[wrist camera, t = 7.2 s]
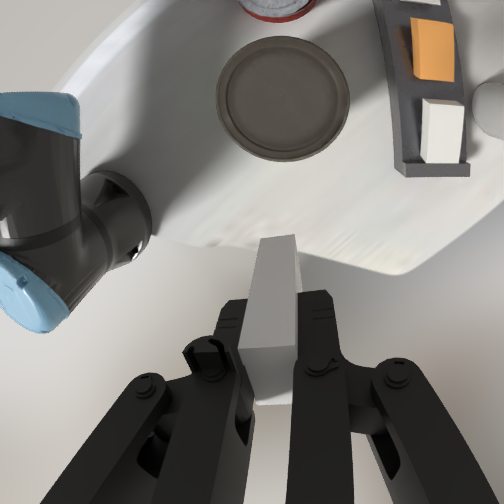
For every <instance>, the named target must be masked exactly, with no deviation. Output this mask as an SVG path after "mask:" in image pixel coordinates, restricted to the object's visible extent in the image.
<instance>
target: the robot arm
mask: <svg viewBox="0 0 504 504" xmlns="http://www.w3.org/2000/svg"><path fill="white" fill-rule="evenodd" d="M80 139H82V134H81V133H80V106H79V102H78V100H77V99H76V98H75V97H74V96H73V95H71V94H68V93H59V92H9V93H8V92H7V93H0V307H1V309H2V310H3V311H4V312H5V313H6V314H7V315H8V316H9V317H10V318H11V319H13V320H14V321H15V322H16V323H18V324H19V325H21V326H22V327H24V328H26V329H28V330H29V331H32V332H35V333H39V334H44V333H49V332H51V331H52V330H54V329H55V328H56V327H57V326H58V325H59V324H60V323H61V322H62V321H63V320H64V319H66V318H68V316H69V315H70V313H71V312H72V311H73V310H74V308H75V307H76V306H77V305H78V304H79V302H80V301H81V300H82V299H83V298H84V297H85V296H86V294H87V293H88V292H89V291H90V290H91V289H92V288H93V286H94V285H95V284H96V283H97V282H98V281H99V280H100V279H101V277H102V276H103V275H104V274H105V273H106V272H108V271H110V270H113V269H115V268H118V267H121V266H123V265H126V264H128V263H130V262H131V261H133V260H134V259H135V258H137V257H138V255H139V254H140V253H141V252H142V251H143V250H144V249H145V247H146V246H147V244H148V242H149V239H150V236H151V229H152V222H151V215H150V211H149V208H148V205H147V203H146V200H145V199H144V197H143V195H142V194H141V192H140V191H139V189H138V188H137V187H136V186H135V185H134V184H133V183H132V182H131V181H130V180H128V179H127V178H125V177H124V176H122V175H120V174H118V173H115V172H111V171H99V172H95V173H92V174H90V175H88V176H86V177H84V178H83V179H81V180H80ZM182 353H183V355H184V357H185V359H186V361H187V363H188V365H189V367H190V369H191V371H192V374H191V375H188V376H185V377H182V378H178V379H174V380H170V381H165V380H164V378H163V377H162V376H161V375H159V374H157V373H145V374H141V375H139V376H138V377H136V378H134V379H133V380H132V381H131V382H130V383H129V384H128V386H127V387H126V388H125V390H124V391H123V392H122V394H121V395H120V396H119V397H118V399H117V400H116V402H115V403H114V404H113V405H112V407H111V408H110V409H109V411H108V412H107V413H106V415H105V416H104V417H103V419H102V420H101V421H100V423H99V424H98V425H97V427H96V428H95V429H94V431H93V432H92V433H91V435H90V436H89V437H88V439H87V440H86V441H85V443H84V444H83V445H82V447H81V448H80V449H79V451H78V452H77V453H76V455H75V456H74V457H73V459H72V460H71V462H70V463H69V464H68V466H67V467H66V468H65V470H64V471H63V472H62V474H61V475H60V477H59V478H58V479H57V481H56V482H55V484H54V485H53V486H52V488H51V489H50V490H49V492H48V493H47V494H46V496H45V497H44V499H43V500H42V501H41V503H40V504H243V502H244V495H245V488H246V482H247V475H248V468H249V461H250V454H251V447H252V440H253V432H254V425H255V414H254V411H253V409H252V408H253V402H254V398H255V401H256V403H257V405H274V404H292V415H291V434H290V450H289V465H288V479H287V493H286V503H285V504H354V483H353V461H352V445H351V432H355V433H361V434H366V437H367V439H368V442H369V444H370V446H371V449H372V451H373V454H374V456H375V459H376V461H377V463H378V466H379V468H380V471H381V473H382V476H383V478H384V481H385V483H386V486H387V488H388V491H389V493H390V496H391V498H392V501H393V503H394V504H499V502H498V500H497V498H496V496H495V494H494V492H493V490H492V488H491V487H490V485H489V483H488V481H487V479H486V477H485V475H484V473H483V472H482V470H481V468H480V466H479V464H478V462H477V461H476V459H475V457H474V455H473V453H472V452H471V450H470V448H469V446H468V445H467V443H466V441H465V440H464V438H463V436H462V435H461V433H460V431H459V429H458V428H457V426H456V424H455V423H454V421H453V420H452V418H451V417H450V415H449V413H448V412H447V410H446V409H445V407H444V405H443V403H442V402H441V400H440V399H439V397H438V396H437V394H436V393H435V391H434V389H433V388H432V386H431V385H430V384H429V382H428V380H427V379H426V377H425V376H424V374H423V373H422V371H421V370H420V368H419V367H418V366H417V365H416V364H415V363H414V362H412V361H410V360H408V359H405V358H391V359H386V360H385V361H383V362H381V363H379V364H378V365H377V367H376V368H370V367H362V366H358V365H355V364H353V363H350V362H349V361H348V360H346V359H345V358H344V356H343V355H342V353H341V350H340V345H339V338H338V331H337V324H336V318H335V311H334V304H333V298H332V297H331V296H330V294H329V293H328V292H327V291H326V290H317V291H309V292H302V282H301V275H300V267H299V261H298V254H297V247H296V240H295V234H293V235H285V236H277V237H270V238H262V239H260V244H259V249H258V254H257V258H256V263H255V268H254V273H253V278H252V283H251V288H250V292H249V297H248V299H240V300H229V301H228V302H227V303H226V304H225V306H224V307H223V308H222V309H221V312H220V315H219V318H218V322H217V325H216V329H215V331H214V334H213V336H212V335H209V336H204V337H200V338H198V339H196V340H193V341H192V342H191V343H189V344H188V345H187V346H186V347H185V349H184V350H183V352H182Z"/></svg>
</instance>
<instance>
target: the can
mask: <svg viewBox="0 0 504 504" xmlns="http://www.w3.org/2000/svg"><path fill="white" fill-rule="evenodd" d="M472 112H473V116H474V119H475V121H476V123H477V125H478V126H479V128H480V129H481V130H482V131H483V132H484V133H486V134H488V135H489V136H492V137H496V138H499V139H502V140H504V83H484V84H481V85H480V86H479V87H477V89H476V90H475V92H474V94H473V98H472Z"/></svg>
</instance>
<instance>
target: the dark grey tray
mask: <svg viewBox="0 0 504 504" xmlns="http://www.w3.org/2000/svg"><path fill="white" fill-rule="evenodd" d="M373 4H374V9H375V13H376V17H377V22H378V27H379V32H380V37H381V42H382V47H383V53H384V59H385V66H386V73H387V80H388V88H389V96H390V105H391V116H392V128H393V144H394V168H395V169H396V170H397V171H399V172H400V173H401V174H402V175H404V176H405V177H470V163H468V162H466V122H465V105H464V93H463V83H462V74H461V67H460V60H459V54H458V48H457V42H456V37H455V32H454V82H449V81H439V80H427V79H419V78H418V77H416V76H415V75H414V71H413V45H412V30H411V19H410V17H412V18H420V19H428V20H435V21H441V22H446V23H451V24H453V23H452V18H451V14H450V10H449V6H448V2H447V0H440V4H441V5H429V4H422V3H415V2H406V1H400V0H373ZM423 99H438V100H451V101H457V102H458V103H460V104H461V105H463V106H464V119H463V131H462V140H461V149H460V156H459V163H426V162H425V161H424V160H423V158H422V157H421V156H420V152H421V137H422V111H423Z"/></svg>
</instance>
